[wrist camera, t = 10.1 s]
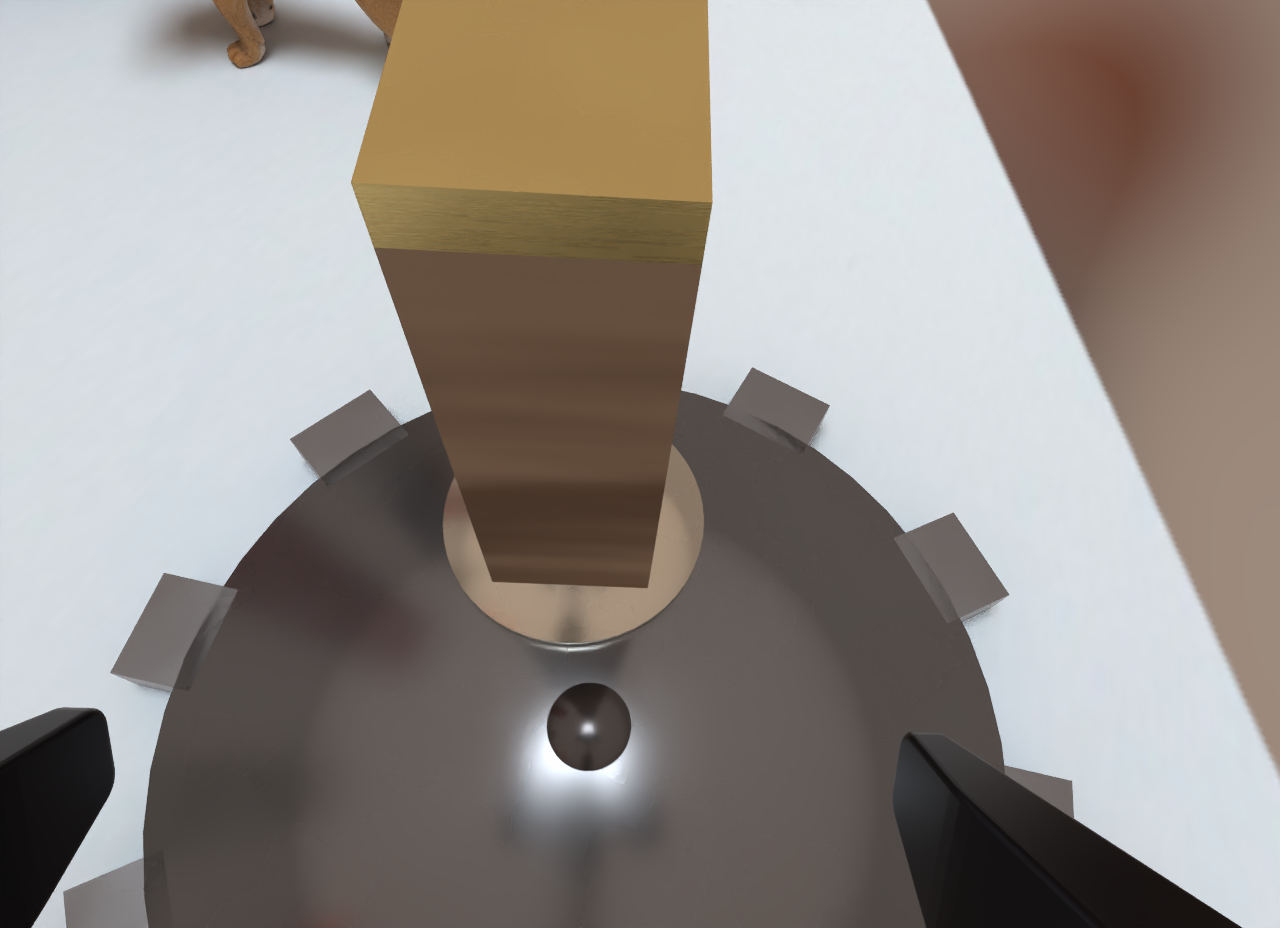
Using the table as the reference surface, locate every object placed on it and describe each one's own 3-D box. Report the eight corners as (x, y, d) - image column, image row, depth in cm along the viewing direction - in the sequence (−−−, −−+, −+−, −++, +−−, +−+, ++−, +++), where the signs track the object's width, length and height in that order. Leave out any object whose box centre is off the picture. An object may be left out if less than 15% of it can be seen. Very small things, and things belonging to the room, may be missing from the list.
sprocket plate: (1106, 1509, 14) (1155, 1570, 13) (-129, 1253, 15) (-195, 1287, 13) (1016, 426, 25) (1038, 402, 23) (308, 313, 26) (293, 284, 24)
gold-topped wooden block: (647, 588, 20) (712, 202, 9) (492, 582, 20) (350, 181, 9) (650, 453, 22) (707, -11, 11) (508, 446, 22) (410, -29, 10)
